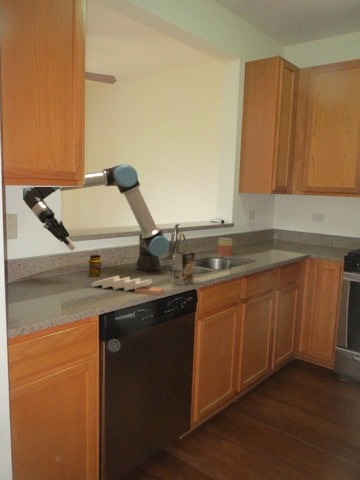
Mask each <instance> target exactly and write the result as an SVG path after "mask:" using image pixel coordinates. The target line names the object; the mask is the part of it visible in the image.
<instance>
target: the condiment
mask: <svg viewBox="0 0 360 480" xmlns="http://www.w3.org/2000/svg"><path fill="white" fill-rule="evenodd" d="M89 257H90V258H89V264H88V265H89V266H88V268H89V269H88V270H89V273H88V276H89V277H90V278H100V277H102V260H101V255H100V254H97V253H96V254H90V255H89Z"/></svg>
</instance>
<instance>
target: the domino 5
mask: <svg viewBox="0 0 360 480" xmlns="http://www.w3.org/2000/svg"><path fill="white" fill-rule="evenodd" d="M164 288H165V287H155V286H149V285H147V286H143V287H139V288H135V292H137V293H139V294H146V295H153V296H154V295H155V296H160V295H162V294H163V293H164V291H165V289H164Z"/></svg>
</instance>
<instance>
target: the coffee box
mask: <svg viewBox="0 0 360 480" xmlns="http://www.w3.org/2000/svg"><path fill="white" fill-rule="evenodd" d="M195 254H196V253H195V252H192V251H187V250H185V251H179V252H174V263H173V264H174V265H173V282H172V283H173V284H175V285H180V286H185V285H190V284H193V283H194V278H195V277H194V275H195V274H194V273H195Z"/></svg>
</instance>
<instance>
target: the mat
mask: <svg viewBox="0 0 360 480" xmlns="http://www.w3.org/2000/svg"><path fill="white" fill-rule="evenodd" d="M94 282H95V281H91V282H89V283H86V284H84V285H81V286H80V288H85V289H93V290H102V291H111V292H116V293H118V292H119V293H126V294H135V295H139V294H140V293H137V292H135V288H134V289H130V290H126V291H125V290H124V287H122V288H118V289H114V290H113V287H112V286H110V287H107V288H103V287H102V285H99V286H95V287H92V283H94Z"/></svg>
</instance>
